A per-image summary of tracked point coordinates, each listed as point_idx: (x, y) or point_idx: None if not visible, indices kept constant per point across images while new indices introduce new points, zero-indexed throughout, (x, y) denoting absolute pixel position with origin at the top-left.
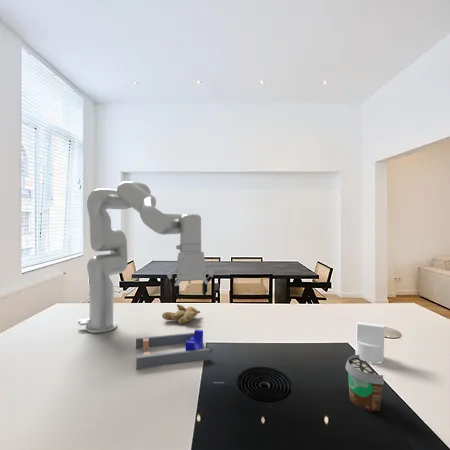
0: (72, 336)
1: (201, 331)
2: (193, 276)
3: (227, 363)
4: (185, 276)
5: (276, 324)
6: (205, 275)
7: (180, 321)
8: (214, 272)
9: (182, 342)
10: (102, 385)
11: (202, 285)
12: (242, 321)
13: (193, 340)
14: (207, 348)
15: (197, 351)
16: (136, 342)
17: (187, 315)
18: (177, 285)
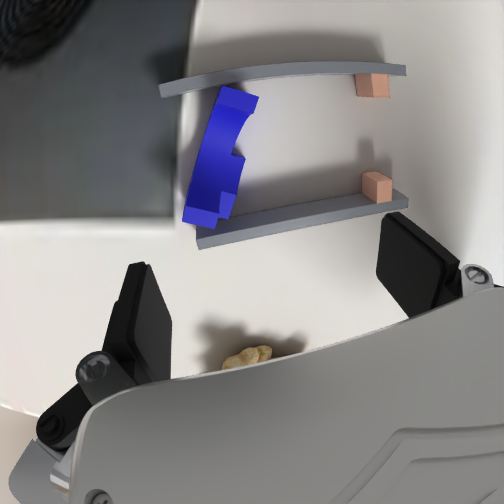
0: (479, 263)
1: (188, 208)
2: (355, 405)
3: (107, 67)
4: (495, 345)
5: (9, 331)
6: (73, 453)
7: (264, 348)
8: (9, 479)
9: (259, 213)
10: (435, 24)
11: (167, 374)
12: None
13: (221, 190)
14: (166, 95)
15: (207, 73)
16: (401, 194)
17: (245, 364)
18: (452, 285)
